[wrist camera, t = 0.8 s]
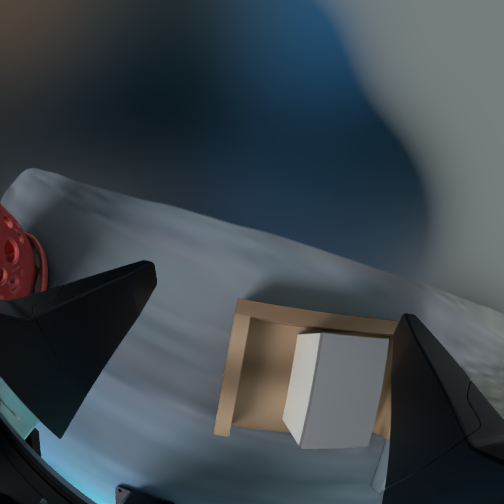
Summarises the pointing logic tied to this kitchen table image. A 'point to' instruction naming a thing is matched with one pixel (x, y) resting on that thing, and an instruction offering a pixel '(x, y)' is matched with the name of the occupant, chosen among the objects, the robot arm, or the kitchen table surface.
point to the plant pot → (20, 260)
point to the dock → (283, 363)
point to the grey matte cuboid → (335, 390)
